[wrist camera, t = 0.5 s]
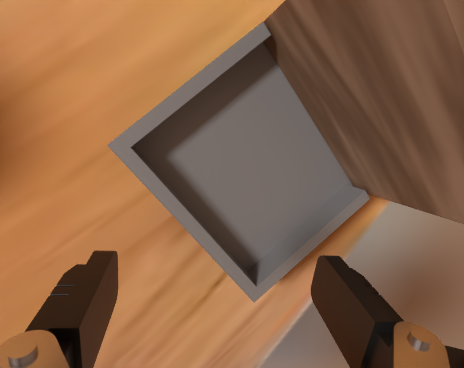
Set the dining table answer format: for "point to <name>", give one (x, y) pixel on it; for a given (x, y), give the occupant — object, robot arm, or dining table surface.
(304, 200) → the tray
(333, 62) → the panel
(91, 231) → the dining table surface
